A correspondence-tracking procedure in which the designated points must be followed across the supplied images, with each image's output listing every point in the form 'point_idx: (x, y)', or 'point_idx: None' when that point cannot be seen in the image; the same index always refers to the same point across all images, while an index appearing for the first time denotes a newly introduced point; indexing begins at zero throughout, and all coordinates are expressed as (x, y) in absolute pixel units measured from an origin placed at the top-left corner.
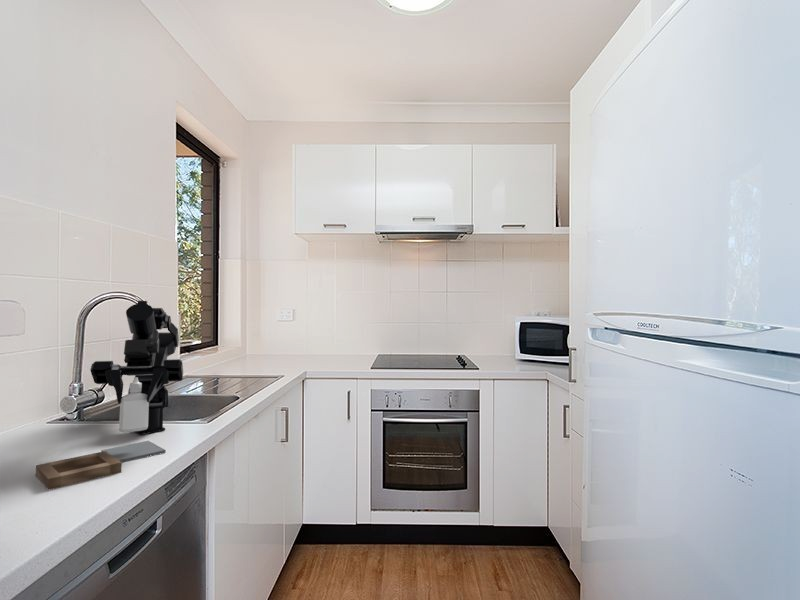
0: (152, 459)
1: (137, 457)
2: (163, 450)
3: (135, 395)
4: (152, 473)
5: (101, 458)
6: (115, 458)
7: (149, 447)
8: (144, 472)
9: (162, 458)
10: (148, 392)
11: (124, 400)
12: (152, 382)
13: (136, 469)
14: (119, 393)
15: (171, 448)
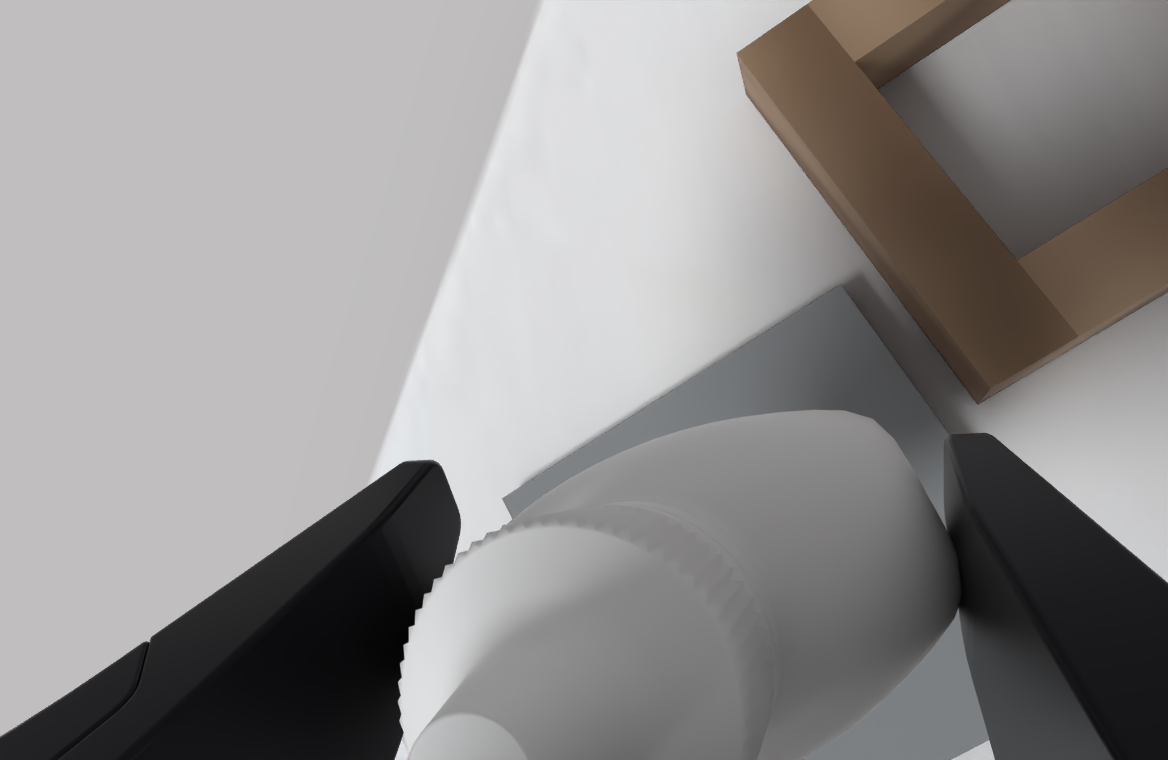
0: (583, 345)
1: (698, 379)
2: (516, 489)
3: (614, 476)
4: (537, 54)
5: (944, 174)
6: (814, 149)
7: None
8: (589, 77)
9: (515, 354)
10: (353, 540)
11: (833, 412)
12: (125, 728)
13: (654, 141)
14: (1008, 527)
15: None
